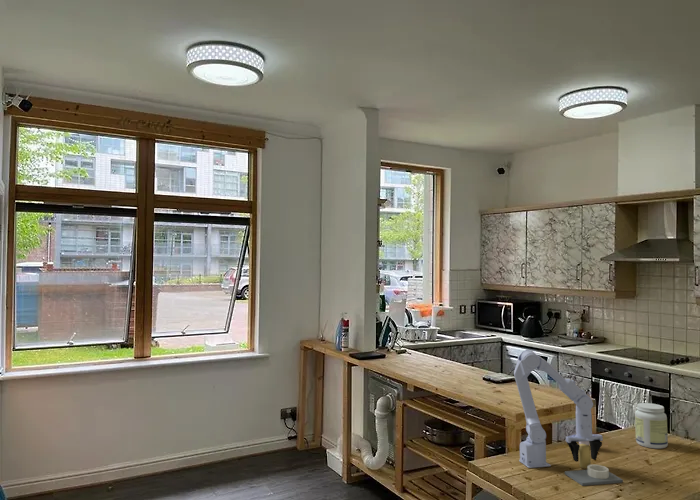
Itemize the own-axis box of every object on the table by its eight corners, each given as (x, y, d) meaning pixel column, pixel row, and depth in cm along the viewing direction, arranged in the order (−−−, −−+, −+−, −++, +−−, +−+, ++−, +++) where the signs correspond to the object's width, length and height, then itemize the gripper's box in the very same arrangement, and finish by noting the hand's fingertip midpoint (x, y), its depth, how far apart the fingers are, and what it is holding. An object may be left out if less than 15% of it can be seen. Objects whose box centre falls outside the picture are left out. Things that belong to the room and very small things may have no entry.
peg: (583, 468, 199) (582, 447, 200) (577, 465, 203) (576, 444, 204) (592, 468, 200) (592, 447, 200) (586, 464, 204) (585, 443, 204)
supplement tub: (670, 444, 227) (669, 405, 228) (664, 451, 218) (663, 410, 219) (639, 438, 235) (638, 400, 236) (632, 445, 226) (631, 406, 227)
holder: (582, 485, 184) (582, 475, 184) (564, 474, 194) (564, 464, 194) (623, 482, 186) (622, 472, 186) (603, 471, 197) (603, 461, 197)
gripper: (572, 428, 197) (573, 464, 197) (607, 426, 200) (608, 462, 199) (562, 423, 204) (563, 458, 204) (595, 421, 207) (596, 456, 206)
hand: (584, 460), depth 202 cm, fingers open, 7 cm apart
